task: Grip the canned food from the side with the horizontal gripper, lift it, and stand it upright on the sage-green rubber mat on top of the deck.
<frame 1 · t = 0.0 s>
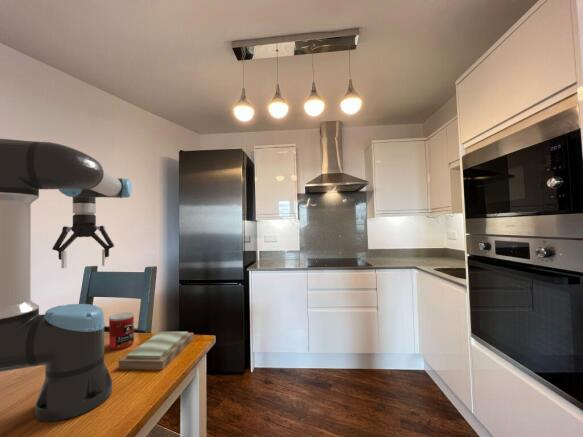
hand: (84, 266, 111), 28 cm above the table, tool pointing down, fingers open, 13 cm apart
canned food: (121, 346, 101), on the table
deck: (160, 352, 94), on the table
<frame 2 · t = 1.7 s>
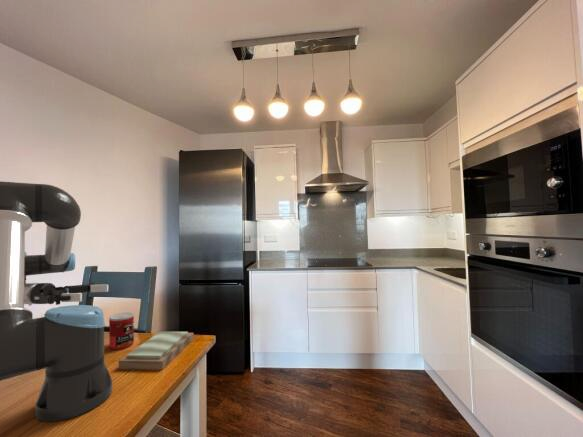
hand: (95, 292, 101), 20 cm above the table, tool horizontal, fingers open, 13 cm apart
nothing on the table moved.
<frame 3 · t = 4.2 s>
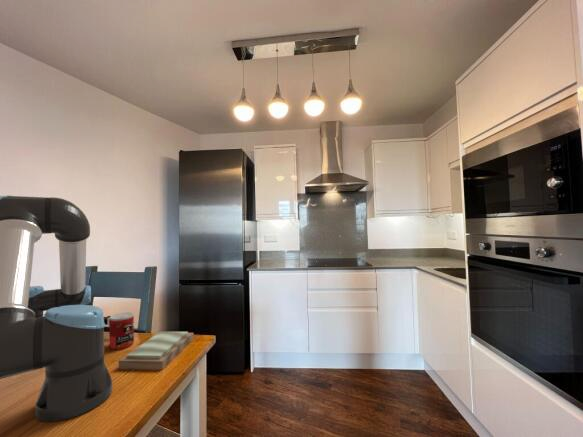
hand: (113, 327, 101), 6 cm above the table, tool horizontal, fingers open, 13 cm apart
nothing on the table moved.
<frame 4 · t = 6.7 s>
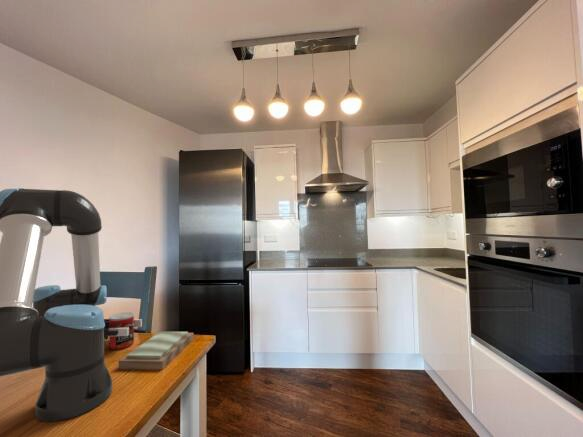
hand: (134, 327, 101), 7 cm above the table, tool horizontal, fingers closed on canned food, 8 cm apart
canned food: (122, 346, 101), on the table, touching gripper
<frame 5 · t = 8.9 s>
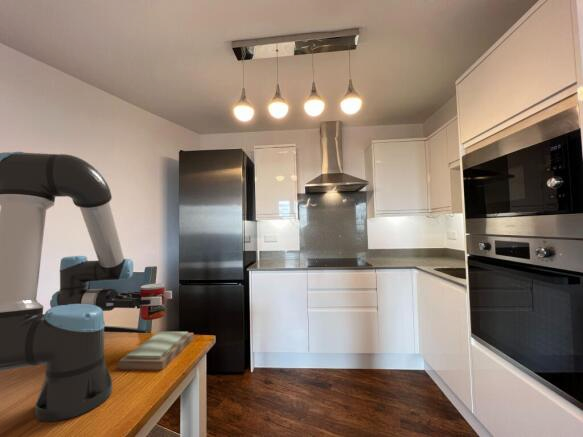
hand: (166, 297, 98), 18 cm above the table, tool horizontal, fingers closed on canned food, 8 cm apart
canned food: (152, 317, 97), point 11 cm above the table, touching gripper
when the fingers open (11 cm above the table, at t = 11.6 s): canned food drops 1 cm, resting on deck.
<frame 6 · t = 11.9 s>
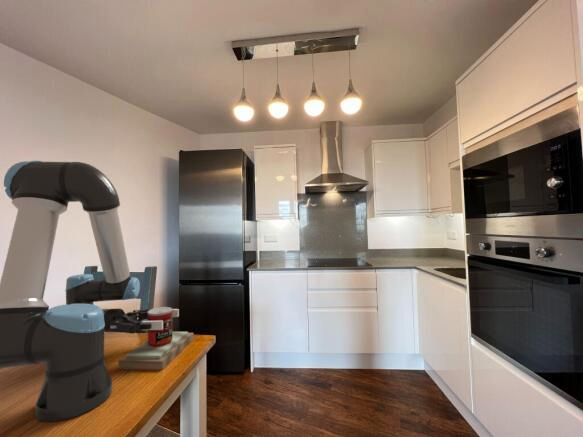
hand: (171, 318, 94), 11 cm above the table, tool horizontal, fingers open, 11 cm apart
canned food: (160, 342, 94), point 3 cm above the table, touching deck
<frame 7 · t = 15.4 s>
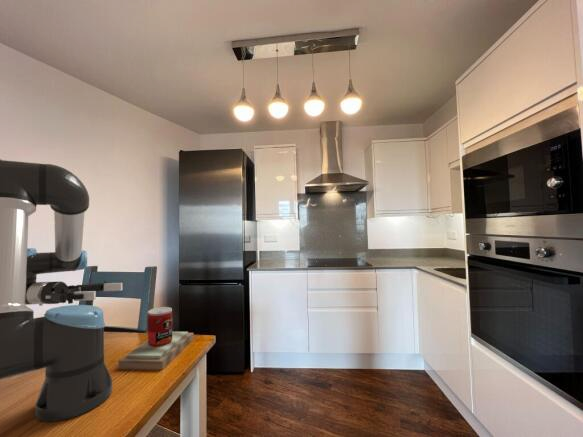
hand: (109, 290, 95), 22 cm above the table, tool horizontal, fingers open, 13 cm apart
nothing on the table moved.
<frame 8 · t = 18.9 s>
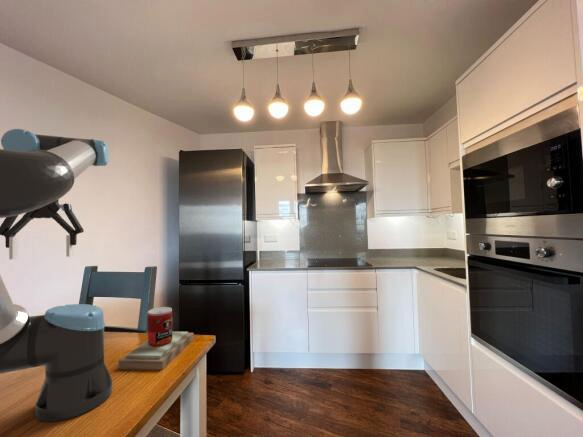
hand: (42, 257, 83), 35 cm above the table, tool pointing down, fingers open, 13 cm apart
nothing on the table moved.
at the end: canned food inside the target area on the deck (0.1 cm from its centre), point 3.3 cm above the deck's base; canned food tilted 0°; the gripper is holding nothing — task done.
